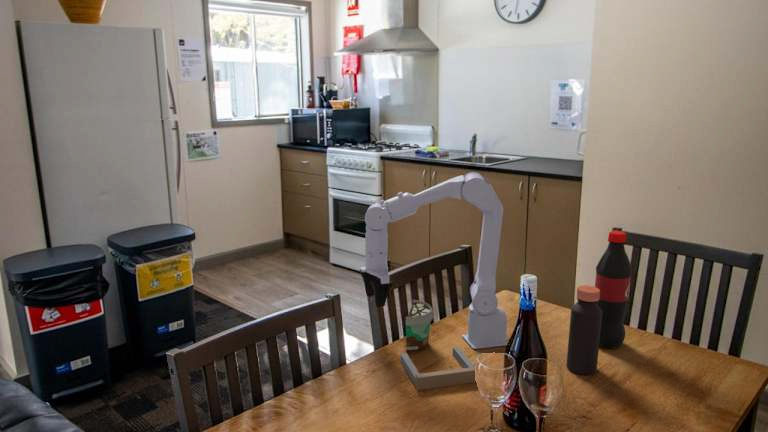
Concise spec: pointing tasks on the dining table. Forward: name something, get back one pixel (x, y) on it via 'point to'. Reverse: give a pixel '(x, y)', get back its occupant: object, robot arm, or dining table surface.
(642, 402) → the dining table surface
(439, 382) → the frame
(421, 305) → the food container
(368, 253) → the robot arm
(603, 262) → the cola bottle
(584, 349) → the dark grey water bottle
